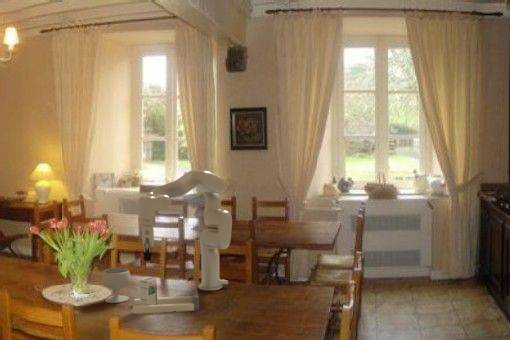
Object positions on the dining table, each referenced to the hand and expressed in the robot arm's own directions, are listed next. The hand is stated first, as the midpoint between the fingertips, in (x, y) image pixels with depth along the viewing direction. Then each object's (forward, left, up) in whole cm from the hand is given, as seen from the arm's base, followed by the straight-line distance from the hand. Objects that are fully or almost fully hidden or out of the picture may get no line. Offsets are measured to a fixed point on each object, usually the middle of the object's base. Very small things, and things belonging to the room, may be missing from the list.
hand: (147, 258), depth 263 cm
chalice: (+16, -16, -25) cm, 33 cm away
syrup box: (0, 0, -25) cm, 25 cm away
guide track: (-8, 0, -24) cm, 26 cm away
